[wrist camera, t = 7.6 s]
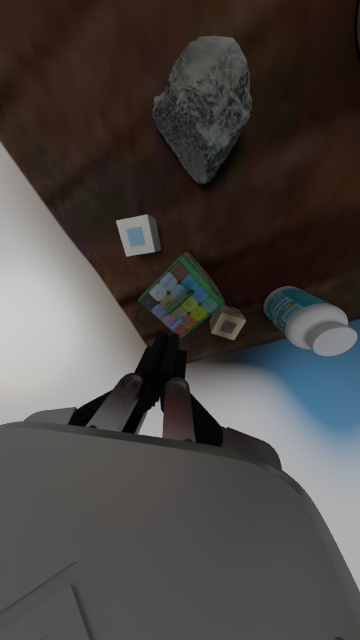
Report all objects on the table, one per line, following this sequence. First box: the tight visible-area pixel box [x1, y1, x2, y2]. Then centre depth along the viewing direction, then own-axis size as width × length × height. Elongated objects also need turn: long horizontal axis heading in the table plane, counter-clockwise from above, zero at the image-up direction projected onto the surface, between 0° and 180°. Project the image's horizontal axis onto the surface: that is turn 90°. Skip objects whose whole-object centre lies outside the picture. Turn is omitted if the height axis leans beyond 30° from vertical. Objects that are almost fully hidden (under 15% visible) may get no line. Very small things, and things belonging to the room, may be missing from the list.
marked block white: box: [116, 215, 161, 256], centre depth 25 cm, size 5×5×5 cm
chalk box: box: [139, 251, 225, 338], centre depth 24 cm, size 9×9×15 cm
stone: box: [152, 36, 253, 185], centre depth 17 cm, size 10×10×10 cm
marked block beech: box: [209, 305, 246, 340], centre depth 31 cm, size 5×5×5 cm
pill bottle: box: [263, 286, 357, 356], centre depth 24 cm, size 8×7×14 cm
